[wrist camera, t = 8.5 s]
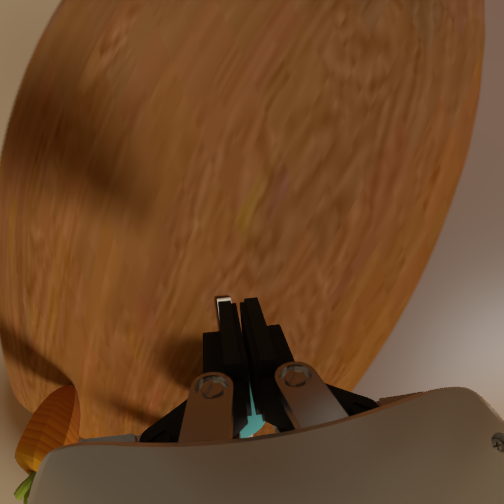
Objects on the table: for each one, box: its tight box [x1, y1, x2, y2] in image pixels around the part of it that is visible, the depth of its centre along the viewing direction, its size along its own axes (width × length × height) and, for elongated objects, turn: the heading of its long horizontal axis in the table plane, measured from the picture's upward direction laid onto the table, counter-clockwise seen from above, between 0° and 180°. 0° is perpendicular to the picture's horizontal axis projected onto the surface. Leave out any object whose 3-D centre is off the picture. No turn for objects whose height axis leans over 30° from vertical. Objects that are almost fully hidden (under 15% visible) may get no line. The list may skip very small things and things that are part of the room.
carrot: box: [14, 385, 80, 504], centre depth 14 cm, size 5×5×15 cm
